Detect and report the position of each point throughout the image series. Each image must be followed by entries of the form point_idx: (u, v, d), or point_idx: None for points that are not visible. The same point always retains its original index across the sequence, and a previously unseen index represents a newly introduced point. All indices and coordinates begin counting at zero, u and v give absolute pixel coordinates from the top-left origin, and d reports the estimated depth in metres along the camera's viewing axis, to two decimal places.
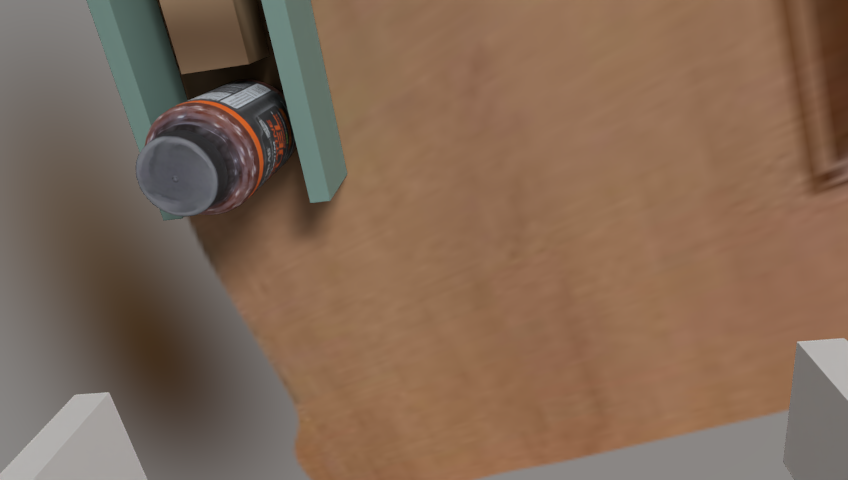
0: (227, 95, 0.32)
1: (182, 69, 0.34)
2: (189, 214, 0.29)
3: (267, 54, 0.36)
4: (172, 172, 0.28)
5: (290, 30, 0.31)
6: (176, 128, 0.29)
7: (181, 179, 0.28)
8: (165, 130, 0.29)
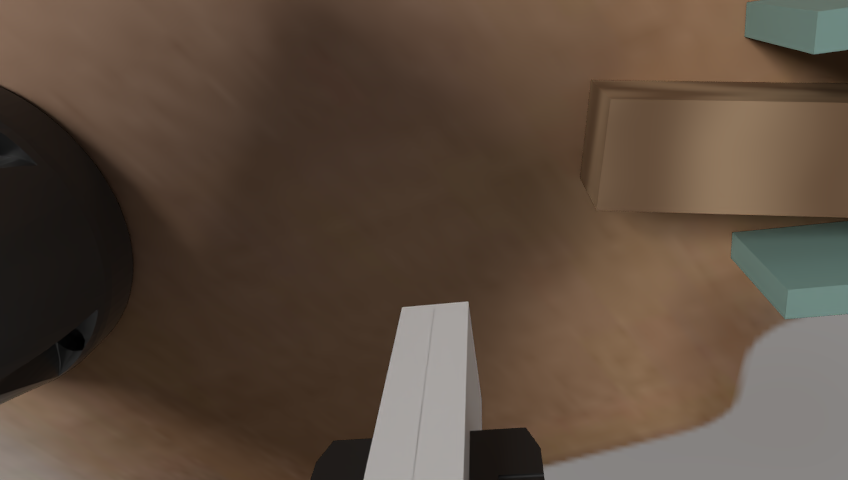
0: None
1: None
2: None
3: None
4: None
5: None
6: None
7: None
8: None
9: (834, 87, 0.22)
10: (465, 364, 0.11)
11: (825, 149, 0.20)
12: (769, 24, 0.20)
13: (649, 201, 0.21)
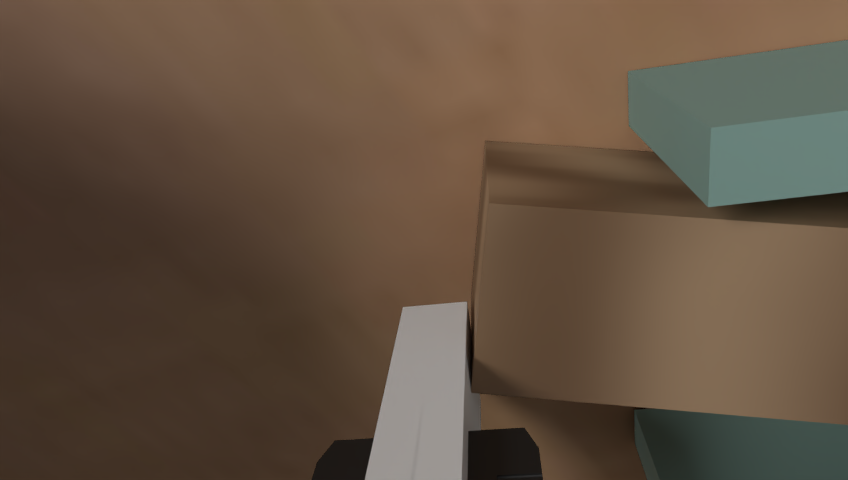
0: None
1: None
2: None
3: None
4: None
5: None
6: None
7: None
8: None
9: None
10: (464, 364, 0.11)
11: None
12: (653, 120, 0.11)
13: (566, 384, 0.12)
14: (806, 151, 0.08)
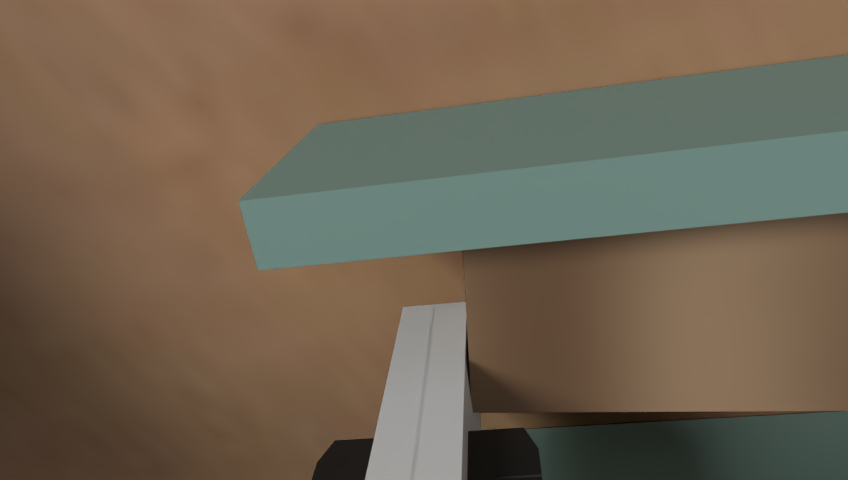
0: None
1: None
2: None
3: None
4: None
5: (841, 136, 0.08)
6: None
7: None
8: None
9: None
10: (463, 364, 0.11)
11: None
12: None
13: (566, 395, 0.11)
14: (327, 223, 0.09)
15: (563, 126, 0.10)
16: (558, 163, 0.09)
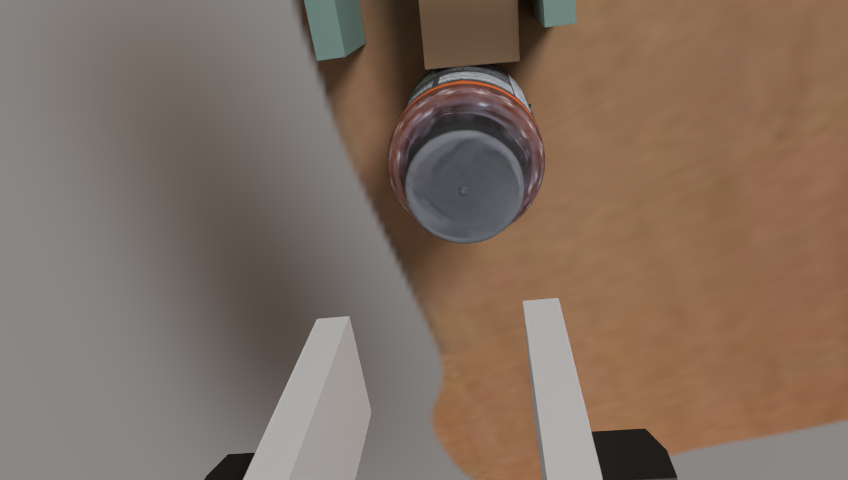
0: (510, 87, 0.24)
1: (427, 63, 0.26)
2: (452, 240, 0.21)
3: None
4: (463, 181, 0.20)
5: None
6: (477, 120, 0.20)
7: (470, 194, 0.20)
8: (457, 114, 0.21)
9: None
10: (573, 362, 0.11)
11: None
12: None
13: None
14: None
15: None
16: None
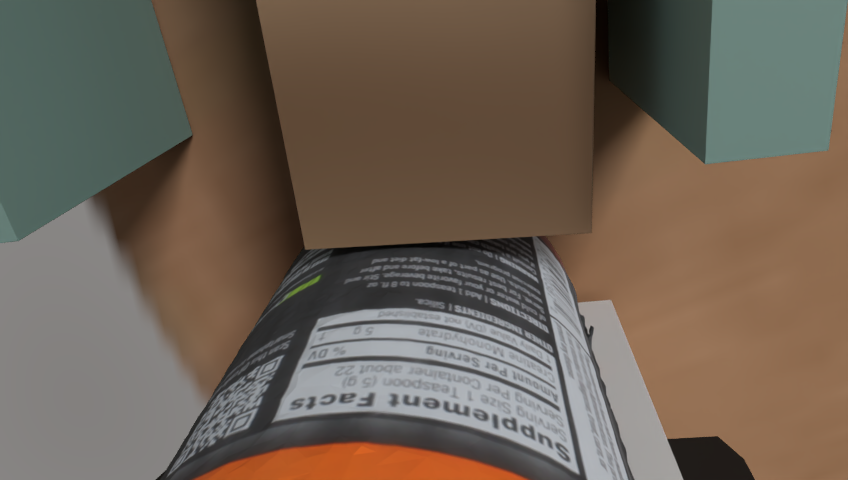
0: (556, 376, 0.07)
1: (311, 233, 0.08)
2: None
3: None
4: None
5: None
6: None
7: None
8: None
9: None
10: (637, 367, 0.10)
11: None
12: None
13: None
14: None
15: None
16: None
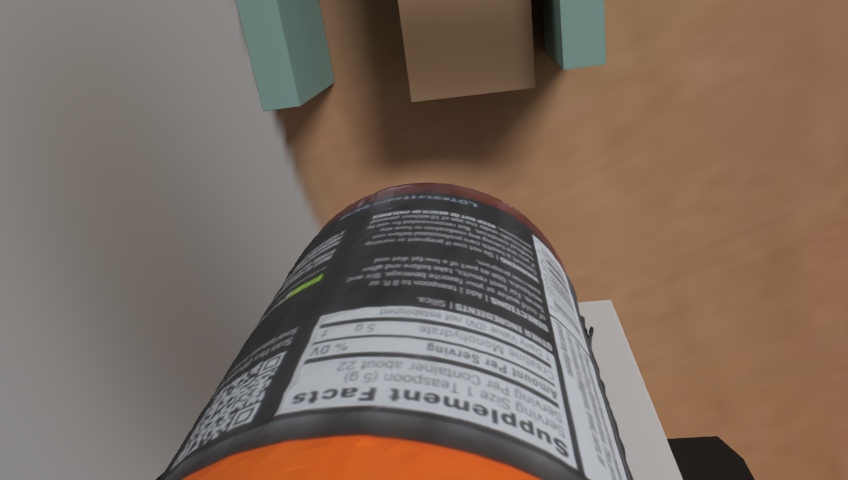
0: (555, 374, 0.07)
1: (414, 94, 0.19)
2: None
3: None
4: None
5: None
6: None
7: None
8: None
9: None
10: (636, 367, 0.10)
11: None
12: None
13: None
14: None
15: None
16: None
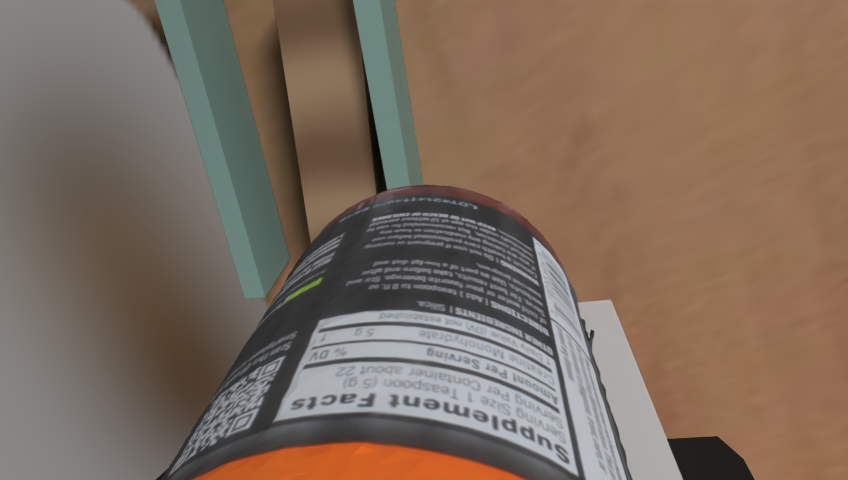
0: (556, 379, 0.07)
1: None
2: None
3: None
4: None
5: (396, 110, 0.29)
6: None
7: None
8: None
9: None
10: (636, 367, 0.10)
11: (340, 139, 0.31)
12: None
13: (285, 30, 0.29)
14: None
15: (391, 32, 0.30)
16: (384, 29, 0.28)
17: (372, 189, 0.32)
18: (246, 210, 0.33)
